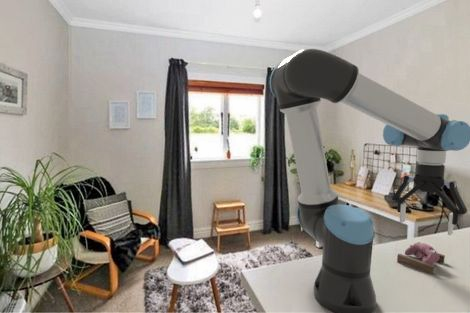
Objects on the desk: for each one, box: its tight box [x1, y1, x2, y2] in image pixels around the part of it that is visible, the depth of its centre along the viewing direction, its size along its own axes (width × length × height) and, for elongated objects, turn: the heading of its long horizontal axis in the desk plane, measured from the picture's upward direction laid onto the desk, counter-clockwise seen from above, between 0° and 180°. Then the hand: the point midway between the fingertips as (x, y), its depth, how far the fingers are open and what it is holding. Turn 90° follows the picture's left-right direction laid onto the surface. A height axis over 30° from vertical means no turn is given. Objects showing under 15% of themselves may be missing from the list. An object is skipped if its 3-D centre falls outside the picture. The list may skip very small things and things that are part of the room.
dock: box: [396, 244, 446, 275], centre depth 93 cm, size 12×10×2 cm
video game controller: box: [404, 241, 440, 265], centre depth 94 cm, size 10×5×7 cm, turn 2°
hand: (424, 227), depth 92 cm, fingers open, 13 cm apart
